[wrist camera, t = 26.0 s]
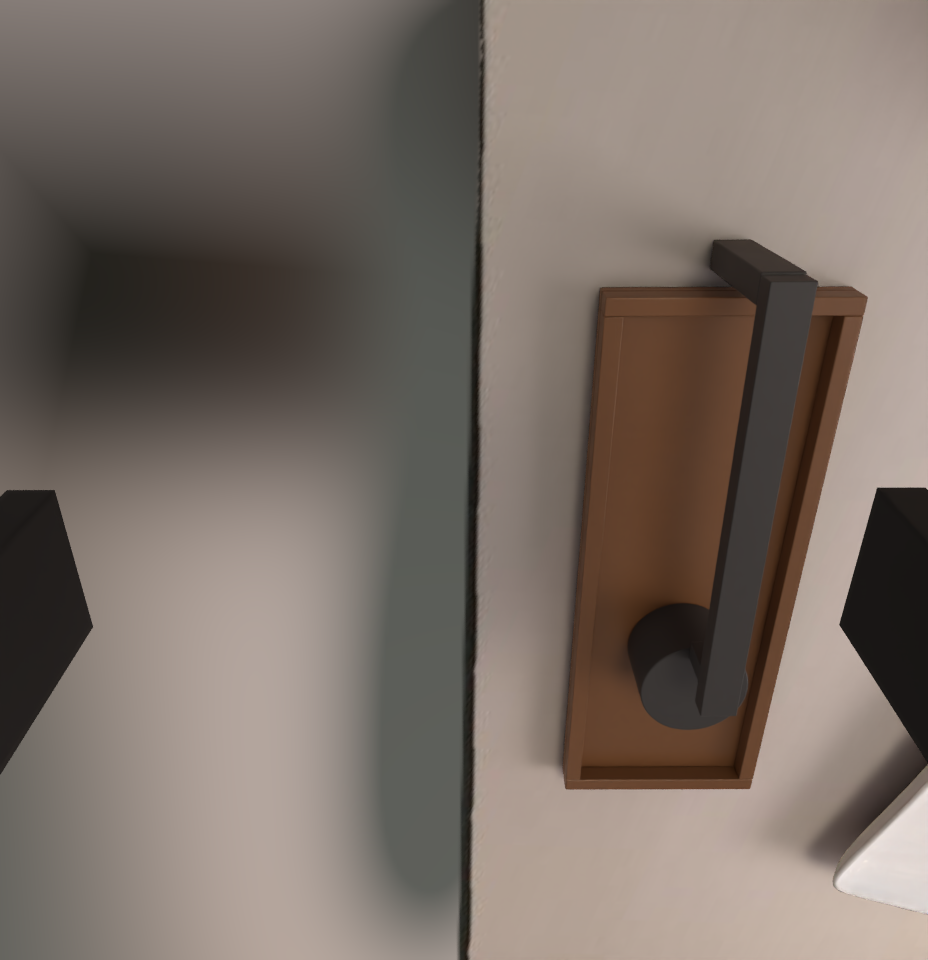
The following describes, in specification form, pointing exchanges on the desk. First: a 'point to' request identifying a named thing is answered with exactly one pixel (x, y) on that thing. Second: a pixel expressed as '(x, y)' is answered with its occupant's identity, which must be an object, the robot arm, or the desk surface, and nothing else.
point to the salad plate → (892, 853)
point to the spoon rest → (685, 518)
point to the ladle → (733, 508)
